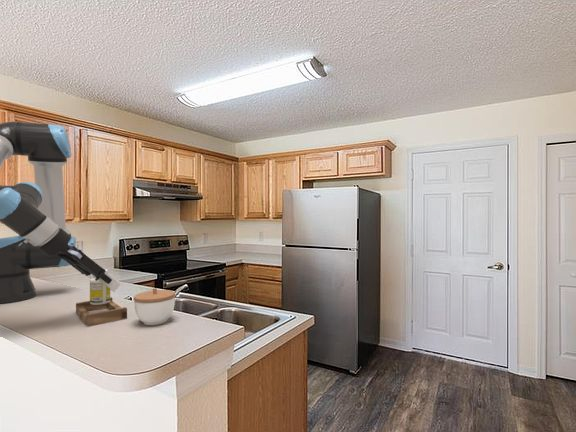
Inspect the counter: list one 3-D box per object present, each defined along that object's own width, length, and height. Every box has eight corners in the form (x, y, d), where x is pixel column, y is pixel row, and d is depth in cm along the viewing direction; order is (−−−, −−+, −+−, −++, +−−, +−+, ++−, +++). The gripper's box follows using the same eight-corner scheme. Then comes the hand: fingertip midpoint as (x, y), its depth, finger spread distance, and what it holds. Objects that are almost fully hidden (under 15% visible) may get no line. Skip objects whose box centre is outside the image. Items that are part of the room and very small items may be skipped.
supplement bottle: (105, 299, 104) (106, 268, 104) (113, 302, 101) (113, 270, 101) (86, 302, 100) (87, 270, 100) (93, 306, 97) (94, 272, 96)
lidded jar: (159, 314, 101) (158, 283, 101) (183, 319, 95) (183, 286, 95) (126, 324, 92) (125, 290, 92) (151, 330, 86) (150, 294, 86)
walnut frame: (76, 312, 104) (75, 303, 104) (111, 306, 111) (111, 297, 111) (87, 326, 91) (87, 315, 90) (127, 318, 97) (126, 308, 97)
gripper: (26, 246, 94) (91, 293, 107) (47, 249, 82) (117, 301, 95) (48, 226, 98) (108, 274, 111) (71, 227, 86) (135, 280, 99)
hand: (112, 286), depth 103 cm, fingers closed on supplement bottle, 5 cm apart
